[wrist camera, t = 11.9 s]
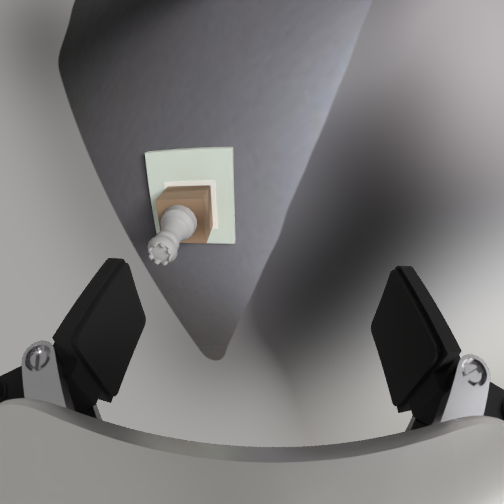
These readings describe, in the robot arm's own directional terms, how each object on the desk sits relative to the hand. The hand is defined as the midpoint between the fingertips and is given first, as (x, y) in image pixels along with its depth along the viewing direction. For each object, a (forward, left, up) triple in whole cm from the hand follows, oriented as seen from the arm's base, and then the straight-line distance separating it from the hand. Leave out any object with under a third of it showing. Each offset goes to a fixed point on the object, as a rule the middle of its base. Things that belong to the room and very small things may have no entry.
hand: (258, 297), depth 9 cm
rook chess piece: (+8, -10, -22) cm, 26 cm away
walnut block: (+8, -10, -27) cm, 30 cm away
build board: (+7, -10, -28) cm, 31 cm away
